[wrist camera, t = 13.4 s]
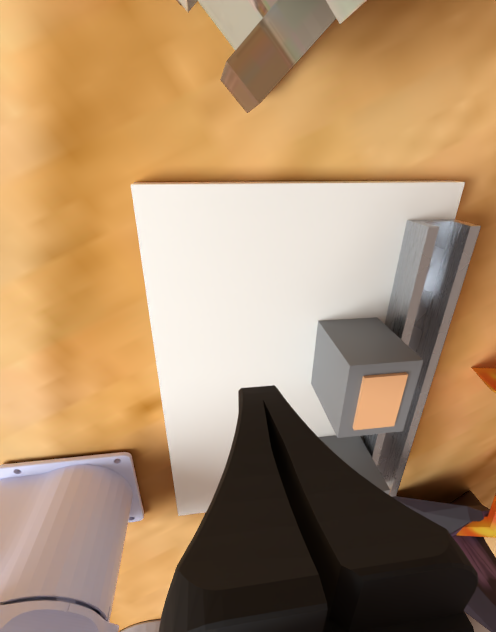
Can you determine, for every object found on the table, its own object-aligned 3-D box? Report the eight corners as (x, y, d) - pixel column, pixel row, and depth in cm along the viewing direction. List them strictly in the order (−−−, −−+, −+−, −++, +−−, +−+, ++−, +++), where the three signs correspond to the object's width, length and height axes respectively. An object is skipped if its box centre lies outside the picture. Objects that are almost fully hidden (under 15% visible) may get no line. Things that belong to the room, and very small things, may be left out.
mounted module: (304, 480, 28) (324, 546, 23) (309, 437, 26) (333, 500, 21) (348, 475, 28) (378, 538, 24) (357, 432, 26) (391, 492, 22)
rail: (351, 479, 29) (361, 500, 27) (407, 220, 19) (428, 227, 17) (383, 475, 29) (395, 496, 27) (454, 219, 19) (480, 225, 17)
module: (310, 383, 23) (338, 440, 19) (318, 320, 21) (351, 368, 16) (364, 379, 24) (404, 433, 19) (377, 317, 22) (425, 362, 17)
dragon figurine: (698, 424, 20) (572, 722, 25) (510, 354, 31) (451, 568, 37) (553, 424, 18) (450, 747, 23) (410, 351, 29) (364, 576, 35)
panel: (179, 502, 29) (178, 515, 28) (134, 182, 17) (130, 184, 16) (373, 478, 31) (379, 489, 30) (450, 180, 19) (465, 182, 18)
